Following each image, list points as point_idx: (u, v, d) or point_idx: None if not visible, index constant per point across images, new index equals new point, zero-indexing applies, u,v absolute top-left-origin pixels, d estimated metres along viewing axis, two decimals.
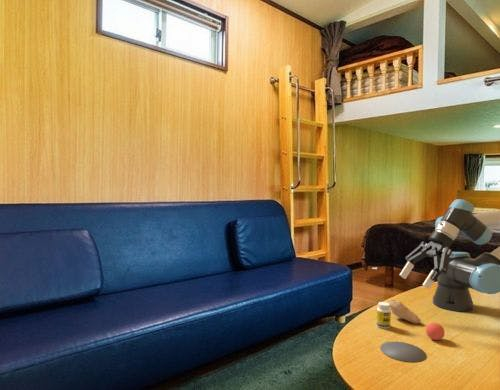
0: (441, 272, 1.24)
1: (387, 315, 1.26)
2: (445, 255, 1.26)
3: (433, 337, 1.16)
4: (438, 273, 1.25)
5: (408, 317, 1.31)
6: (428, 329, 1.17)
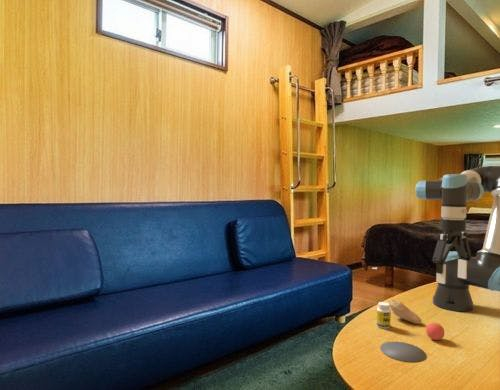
0: None
1: (387, 315, 1.26)
2: None
3: (433, 337, 1.16)
4: None
5: (409, 318, 1.31)
6: (428, 329, 1.17)
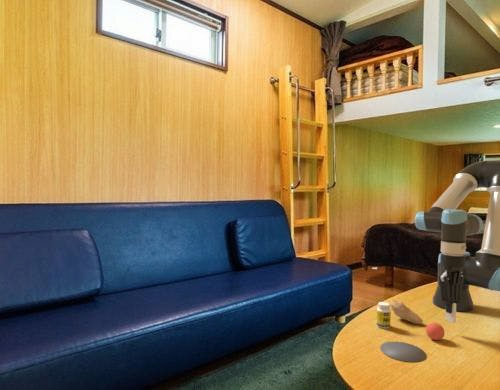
0: None
1: (387, 315, 1.26)
2: None
3: (433, 337, 1.16)
4: None
5: (410, 318, 1.31)
6: (428, 329, 1.17)
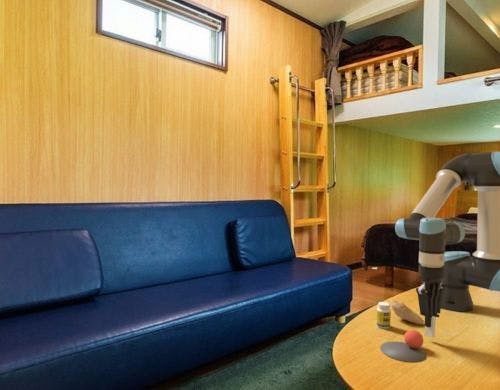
0: None
1: (387, 315, 1.26)
2: None
3: (416, 331, 1.11)
4: None
5: (411, 318, 1.30)
6: None
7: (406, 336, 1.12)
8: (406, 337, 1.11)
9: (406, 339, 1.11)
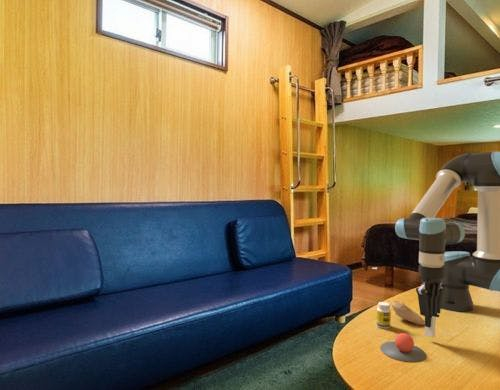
0: None
1: (387, 315, 1.26)
2: None
3: (401, 346, 1.07)
4: None
5: (412, 318, 1.30)
6: (398, 337, 1.09)
7: None
8: None
9: None
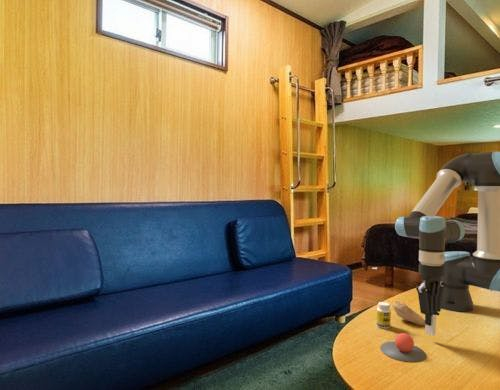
0: None
1: (387, 315, 1.26)
2: None
3: (401, 346, 1.07)
4: None
5: (413, 319, 1.30)
6: (398, 337, 1.09)
7: None
8: None
9: None
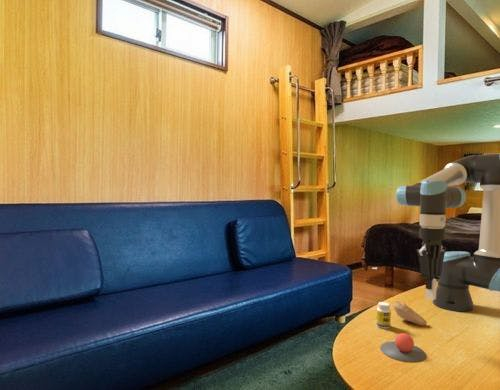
0: None
1: (387, 315, 1.26)
2: None
3: (401, 346, 1.07)
4: None
5: (414, 319, 1.29)
6: (398, 337, 1.09)
7: None
8: None
9: None
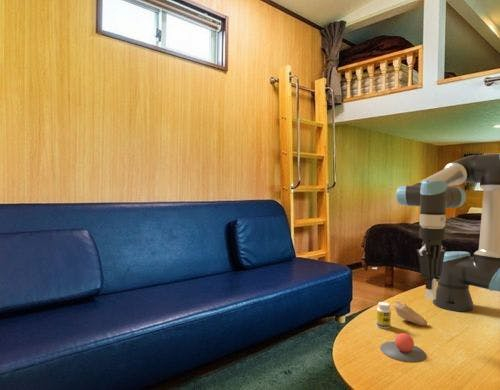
0: None
1: (387, 315, 1.26)
2: None
3: (401, 346, 1.07)
4: None
5: (415, 319, 1.29)
6: (398, 337, 1.09)
7: None
8: None
9: None
